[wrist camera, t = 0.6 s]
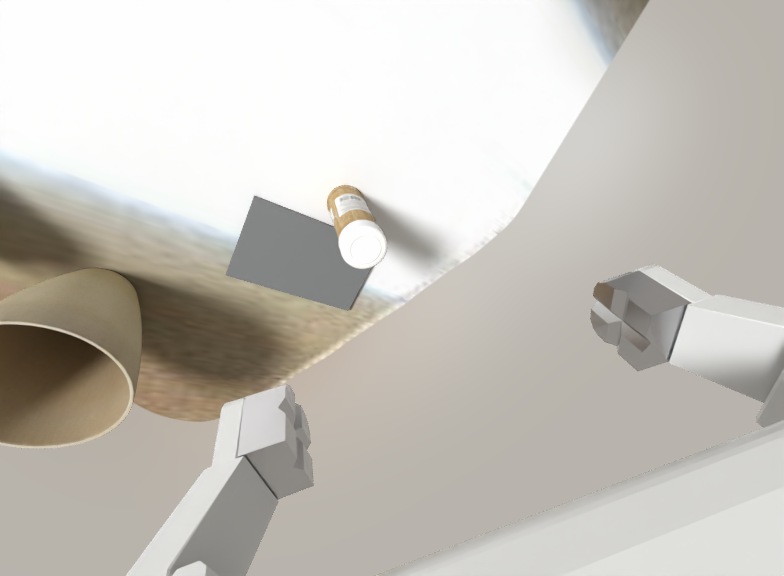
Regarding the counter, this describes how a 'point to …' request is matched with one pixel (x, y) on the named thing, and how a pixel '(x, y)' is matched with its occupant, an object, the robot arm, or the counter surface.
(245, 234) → the mat
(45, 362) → the plant pot
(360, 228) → the sprinkles bottle
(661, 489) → the robot arm
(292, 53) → the counter surface
